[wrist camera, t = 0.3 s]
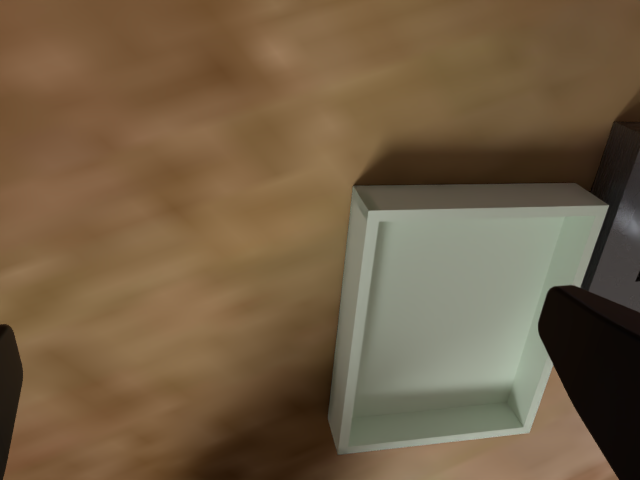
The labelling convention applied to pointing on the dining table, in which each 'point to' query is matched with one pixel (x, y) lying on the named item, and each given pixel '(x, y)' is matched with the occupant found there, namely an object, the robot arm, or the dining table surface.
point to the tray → (451, 308)
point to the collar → (618, 220)
